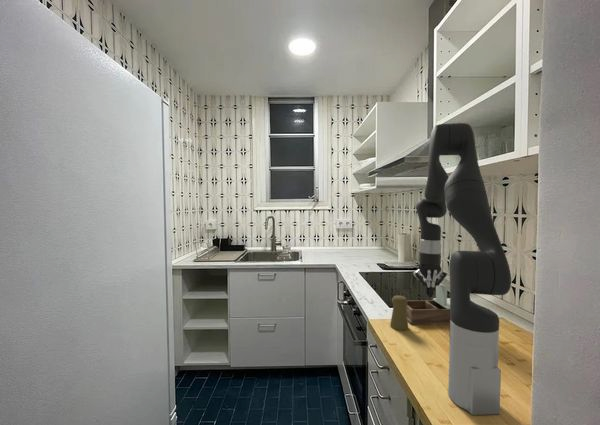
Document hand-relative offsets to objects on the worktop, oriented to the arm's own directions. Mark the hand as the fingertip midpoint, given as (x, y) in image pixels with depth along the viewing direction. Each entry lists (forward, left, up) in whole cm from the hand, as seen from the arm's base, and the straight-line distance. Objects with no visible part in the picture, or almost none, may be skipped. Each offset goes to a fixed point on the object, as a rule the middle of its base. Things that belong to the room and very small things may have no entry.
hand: (429, 296), depth 110 cm
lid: (0, -9, -3) cm, 10 cm away
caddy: (0, -3, -8) cm, 9 cm away
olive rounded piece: (-8, +15, -9) cm, 19 cm away
